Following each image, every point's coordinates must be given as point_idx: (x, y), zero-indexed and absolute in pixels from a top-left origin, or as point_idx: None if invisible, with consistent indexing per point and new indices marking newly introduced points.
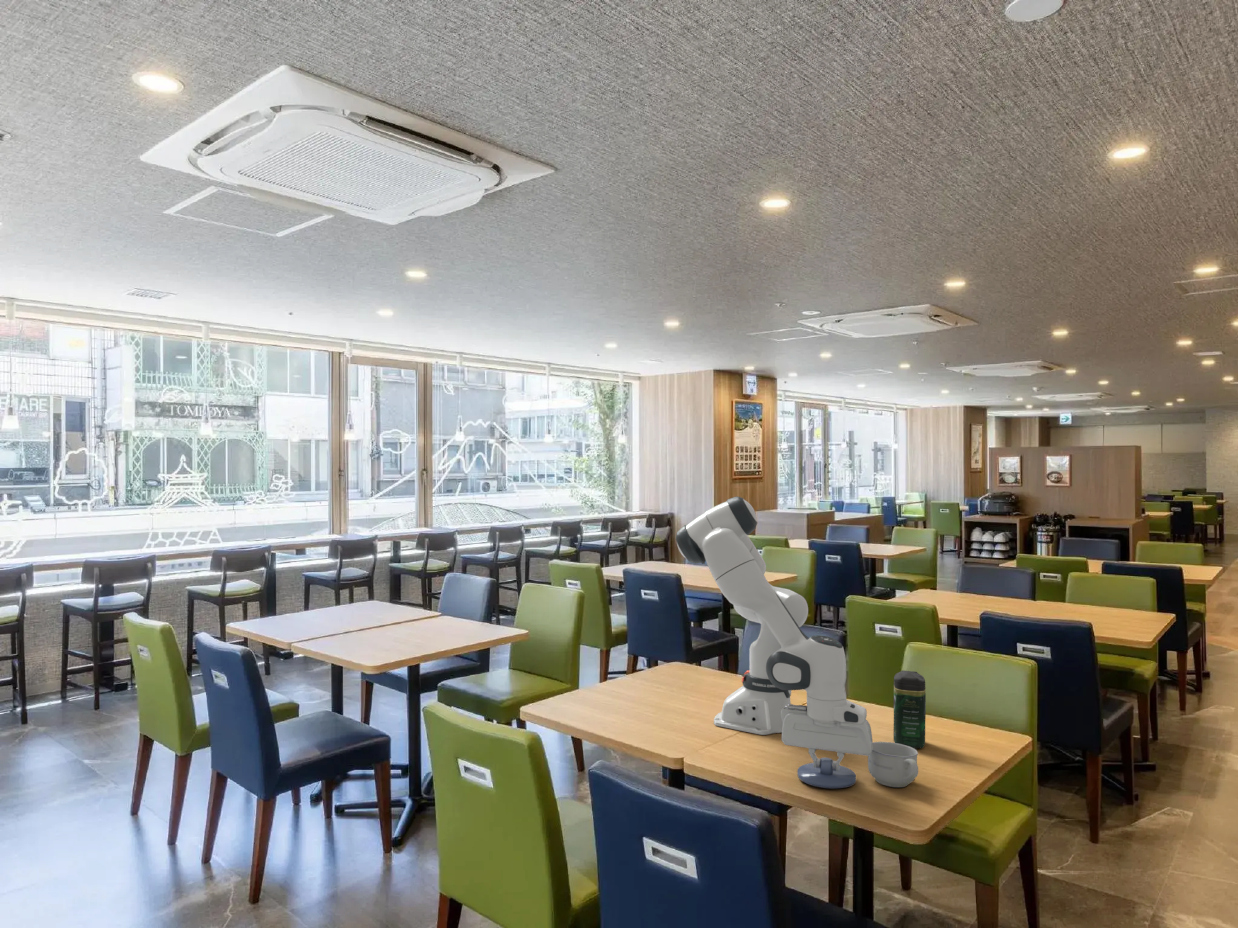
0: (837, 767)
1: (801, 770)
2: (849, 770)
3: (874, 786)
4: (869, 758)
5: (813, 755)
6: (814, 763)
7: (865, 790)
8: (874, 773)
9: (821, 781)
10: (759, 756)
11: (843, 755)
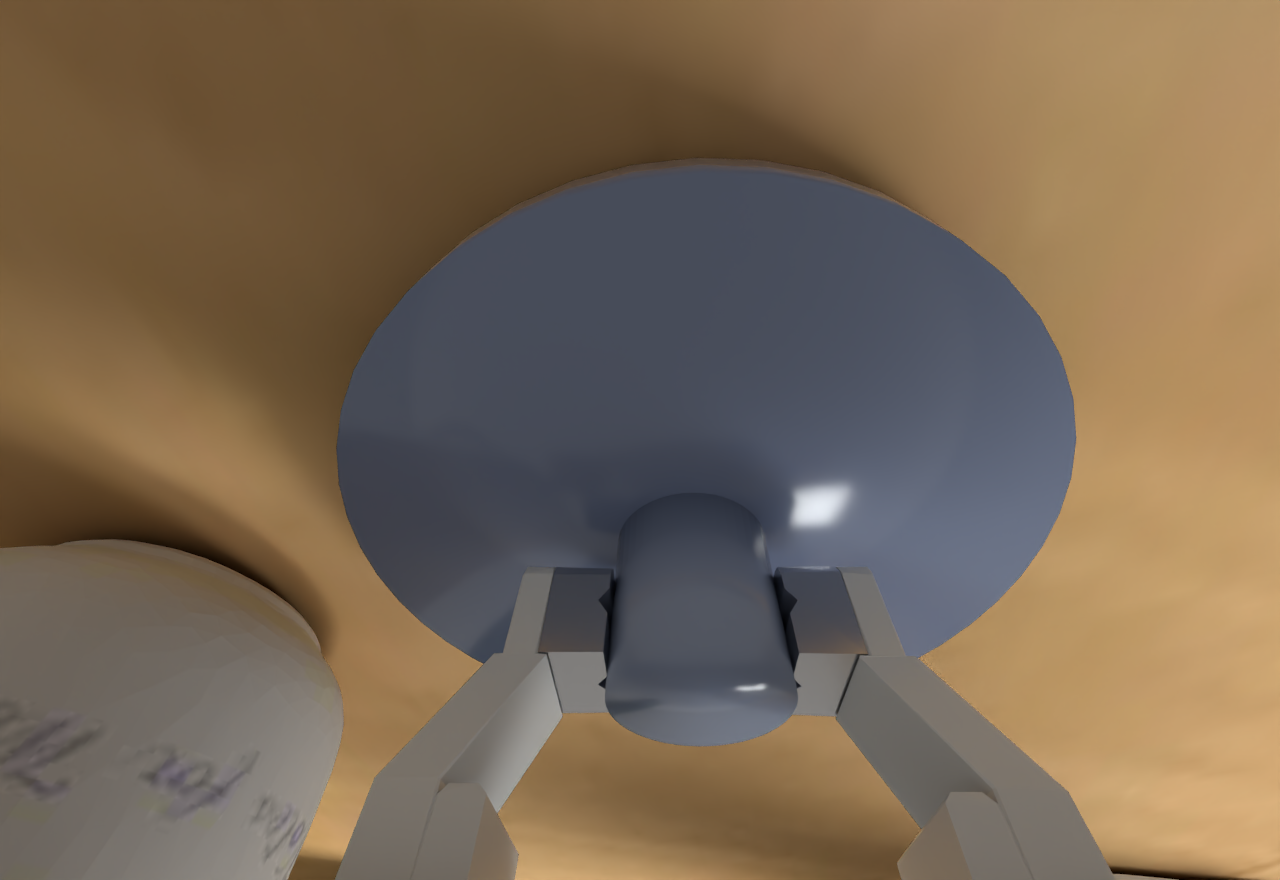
0: (530, 599)
1: (1004, 513)
2: (491, 648)
3: (244, 512)
4: (170, 811)
5: (936, 737)
6: (872, 608)
7: (243, 396)
8: (158, 621)
9: (717, 242)
10: (1262, 703)
11: (369, 815)
